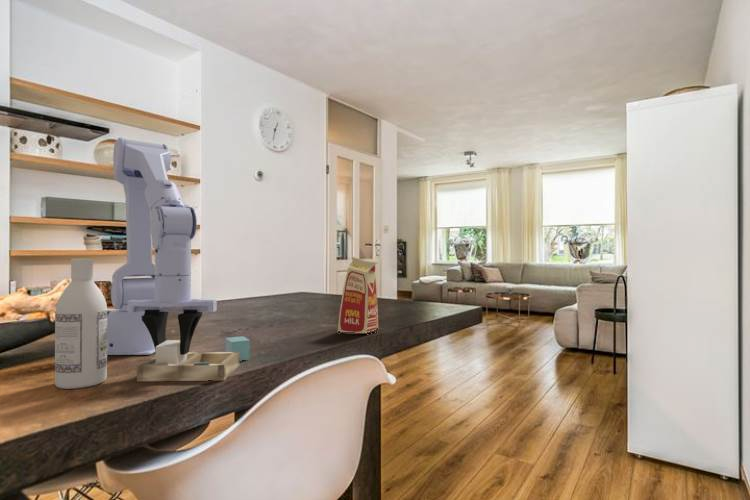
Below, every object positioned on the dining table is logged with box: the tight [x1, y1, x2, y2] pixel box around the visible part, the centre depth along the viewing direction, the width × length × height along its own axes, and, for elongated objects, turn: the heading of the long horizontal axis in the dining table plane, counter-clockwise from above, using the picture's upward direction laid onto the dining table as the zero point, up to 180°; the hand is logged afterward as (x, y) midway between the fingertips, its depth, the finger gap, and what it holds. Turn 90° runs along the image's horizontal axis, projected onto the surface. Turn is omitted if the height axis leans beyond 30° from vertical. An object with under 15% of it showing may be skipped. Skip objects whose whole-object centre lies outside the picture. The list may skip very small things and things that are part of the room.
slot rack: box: [136, 351, 240, 382], centre depth 77 cm, size 14×10×3 cm
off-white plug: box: [155, 339, 187, 364], centre depth 77 cm, size 6×4×4 cm, turn 3°
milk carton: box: [337, 256, 379, 333], centre depth 117 cm, size 9×9×20 cm
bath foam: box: [54, 257, 108, 390], centre depth 71 cm, size 7×7×20 cm
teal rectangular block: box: [225, 336, 251, 362], centre depth 87 cm, size 6×4×4 cm, turn 33°
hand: (172, 353), depth 77 cm, fingers closed on off-white plug, 3 cm apart
